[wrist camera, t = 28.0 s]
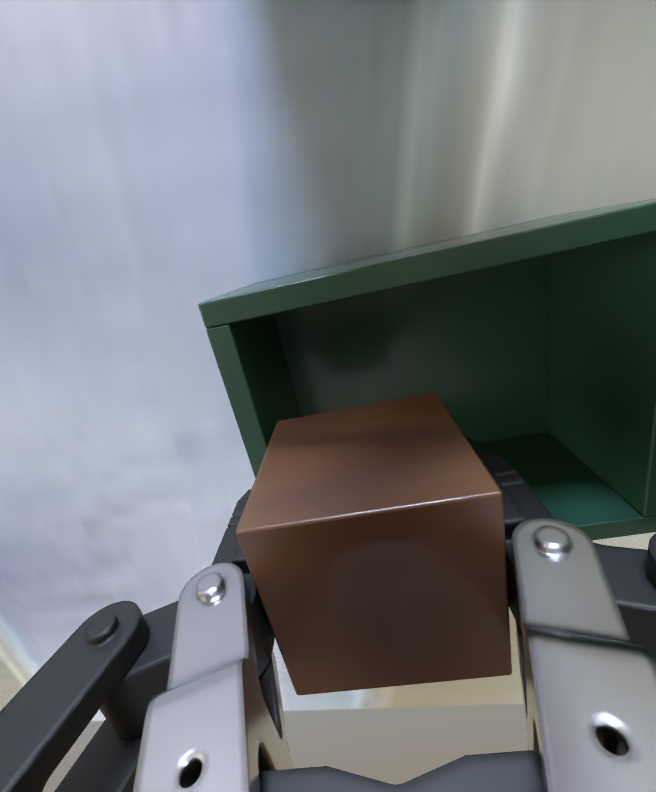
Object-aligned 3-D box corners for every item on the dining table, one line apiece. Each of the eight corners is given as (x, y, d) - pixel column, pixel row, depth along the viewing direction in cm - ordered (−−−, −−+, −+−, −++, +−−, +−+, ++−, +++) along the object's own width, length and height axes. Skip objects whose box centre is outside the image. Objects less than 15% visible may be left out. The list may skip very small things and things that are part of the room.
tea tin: (306, 475, 23) (289, 580, 15) (253, 283, 19) (197, 304, 11) (553, 435, 21) (664, 531, 14) (555, 215, 17) (712, 189, 10)
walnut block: (312, 542, 12) (296, 697, 8) (276, 420, 11) (233, 532, 6) (451, 522, 12) (513, 676, 8) (436, 391, 10) (503, 492, 6)
